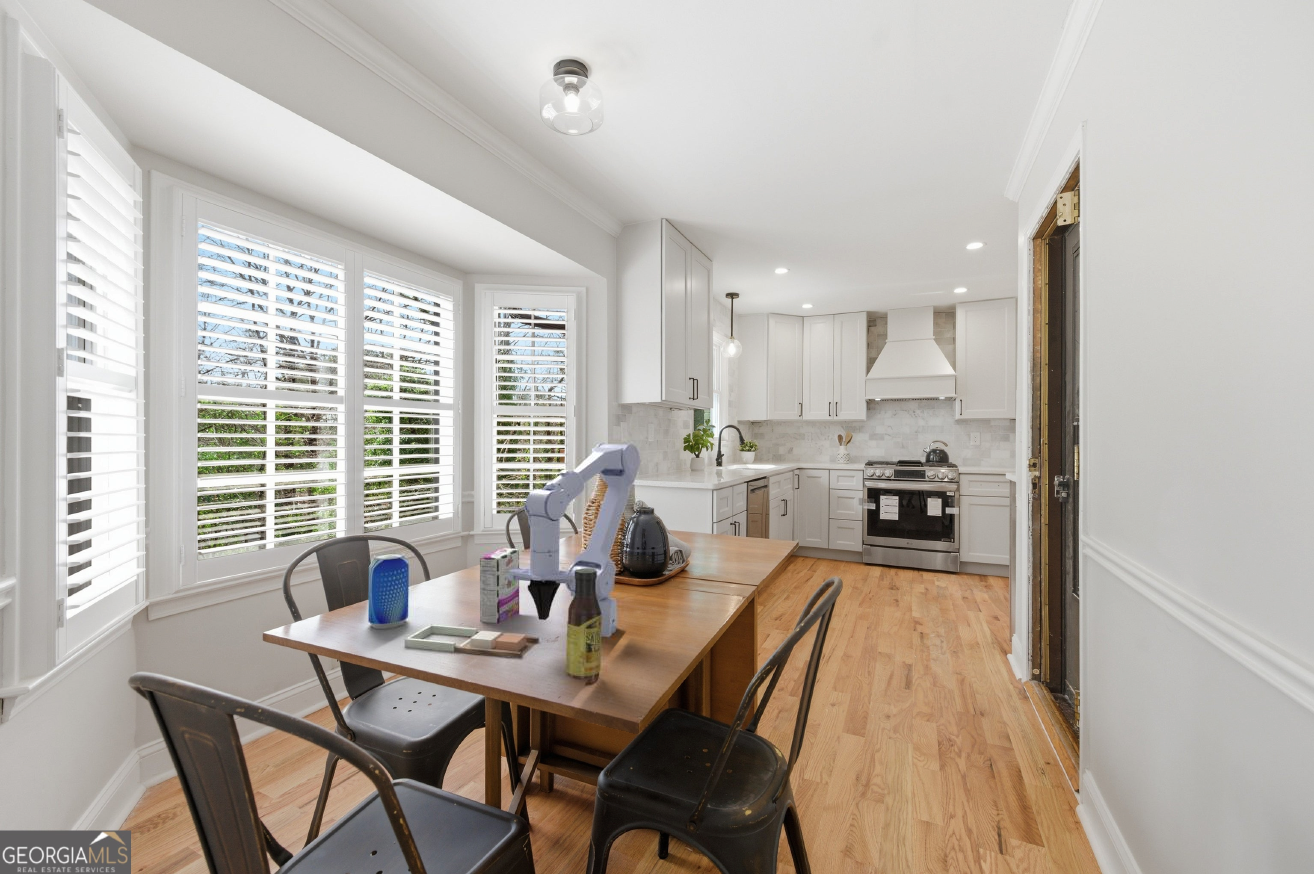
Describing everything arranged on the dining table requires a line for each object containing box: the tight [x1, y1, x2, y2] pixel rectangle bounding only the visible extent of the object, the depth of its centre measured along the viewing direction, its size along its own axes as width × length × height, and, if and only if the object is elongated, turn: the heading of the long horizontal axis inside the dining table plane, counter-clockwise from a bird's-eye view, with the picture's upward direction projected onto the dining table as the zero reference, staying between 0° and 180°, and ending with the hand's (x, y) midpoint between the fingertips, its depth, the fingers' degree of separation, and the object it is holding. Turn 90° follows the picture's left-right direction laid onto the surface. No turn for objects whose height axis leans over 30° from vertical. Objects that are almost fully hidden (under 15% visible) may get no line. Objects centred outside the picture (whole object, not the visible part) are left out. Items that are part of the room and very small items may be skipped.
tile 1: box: [469, 630, 503, 649], centre depth 116 cm, size 4×4×2 cm
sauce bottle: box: [565, 568, 602, 686], centre depth 104 cm, size 6×6×20 cm
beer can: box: [367, 552, 410, 630], centre depth 132 cm, size 8×8×16 cm
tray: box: [404, 624, 478, 652], centre depth 118 cm, size 11×9×3 cm
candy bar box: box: [479, 547, 520, 624], centre depth 135 cm, size 11×5×16 cm, turn 168°
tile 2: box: [496, 632, 527, 652], centre depth 115 cm, size 4×4×2 cm
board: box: [453, 631, 540, 659], centre depth 115 cm, size 14×9×2 cm, turn 78°
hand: (543, 618), depth 113 cm, fingers closed
